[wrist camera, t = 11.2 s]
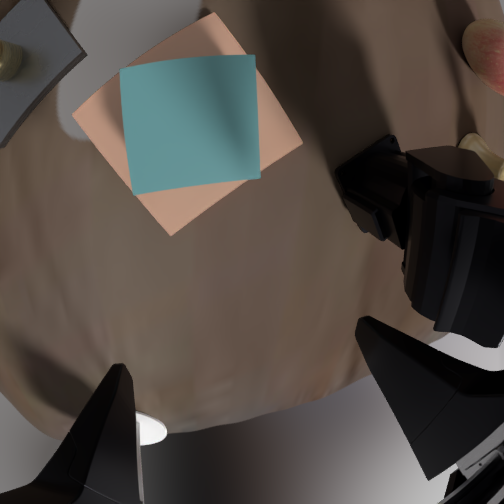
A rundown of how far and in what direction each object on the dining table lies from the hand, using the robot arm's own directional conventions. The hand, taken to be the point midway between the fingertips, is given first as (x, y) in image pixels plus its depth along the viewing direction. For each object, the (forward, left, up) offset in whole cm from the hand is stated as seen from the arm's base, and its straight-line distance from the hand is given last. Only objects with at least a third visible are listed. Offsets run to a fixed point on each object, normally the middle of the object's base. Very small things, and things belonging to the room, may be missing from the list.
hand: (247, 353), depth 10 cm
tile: (-3, -7, -12) cm, 14 cm away
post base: (+4, -20, -12) cm, 24 cm away
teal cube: (-3, -7, -11) cm, 14 cm away
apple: (-34, -1, -12) cm, 36 cm away
